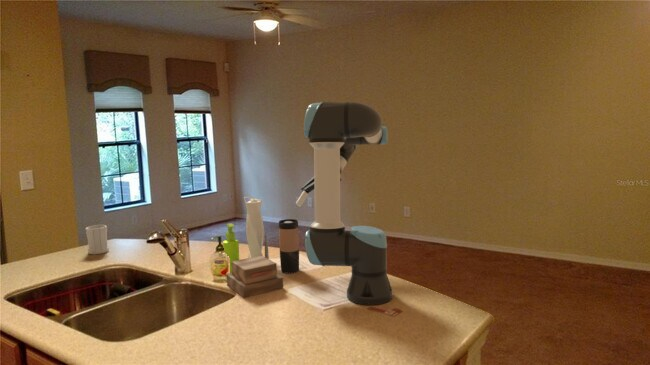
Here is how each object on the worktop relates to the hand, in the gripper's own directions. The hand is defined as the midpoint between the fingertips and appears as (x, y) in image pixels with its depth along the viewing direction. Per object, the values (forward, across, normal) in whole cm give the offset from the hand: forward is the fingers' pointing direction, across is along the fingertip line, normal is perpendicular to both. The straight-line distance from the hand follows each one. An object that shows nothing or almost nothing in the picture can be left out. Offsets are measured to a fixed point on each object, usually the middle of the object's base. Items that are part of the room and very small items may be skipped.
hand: (308, 207), depth 190 cm
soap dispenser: (+38, +13, +4) cm, 40 cm away
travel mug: (+25, 0, -9) cm, 26 cm away
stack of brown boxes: (+39, -5, +6) cm, 40 cm away
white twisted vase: (+26, +20, -8) cm, 34 cm away
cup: (+56, +88, +22) cm, 106 cm away
